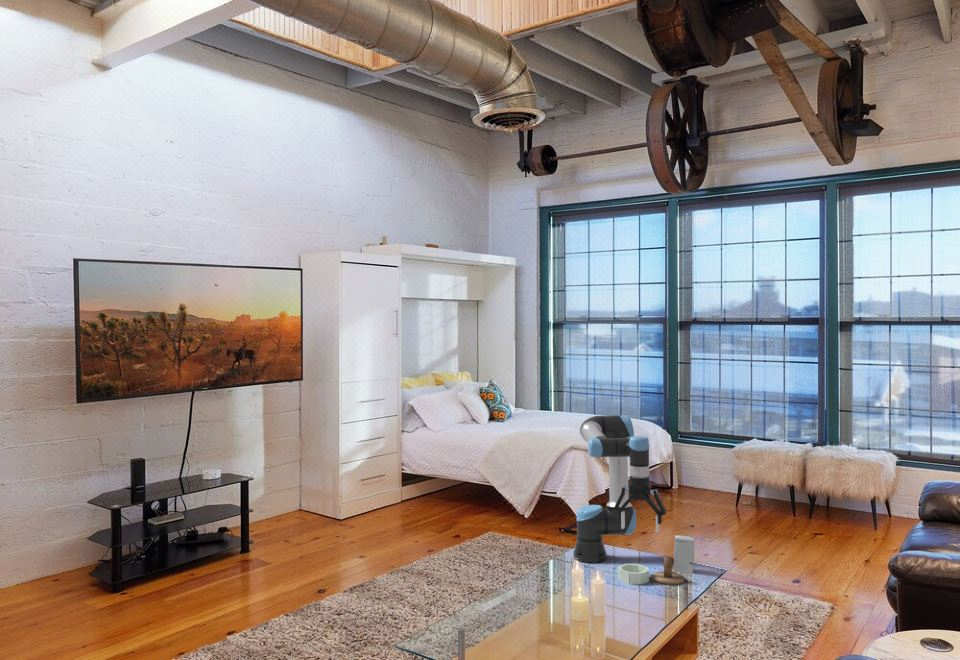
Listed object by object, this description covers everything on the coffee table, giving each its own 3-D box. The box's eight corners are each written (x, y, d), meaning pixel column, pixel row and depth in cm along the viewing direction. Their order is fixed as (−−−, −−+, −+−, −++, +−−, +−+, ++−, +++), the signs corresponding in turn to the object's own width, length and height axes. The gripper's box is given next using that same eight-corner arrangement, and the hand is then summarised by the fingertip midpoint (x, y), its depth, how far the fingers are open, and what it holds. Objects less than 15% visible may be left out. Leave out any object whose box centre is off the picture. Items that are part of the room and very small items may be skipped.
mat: (649, 575, 304) (649, 574, 304) (680, 575, 303) (680, 574, 303) (654, 586, 291) (654, 584, 291) (687, 586, 290) (687, 585, 290)
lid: (649, 574, 304) (649, 552, 304) (680, 574, 303) (680, 552, 303) (654, 584, 291) (654, 562, 291) (687, 585, 290) (686, 562, 290)
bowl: (617, 575, 305) (617, 563, 305) (646, 575, 304) (646, 563, 304) (620, 585, 293) (620, 573, 293) (650, 585, 292) (650, 573, 292)
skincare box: (673, 572, 307) (673, 538, 307) (674, 568, 312) (674, 534, 312) (694, 575, 304) (693, 539, 304) (694, 570, 310) (694, 536, 310)
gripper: (605, 475, 284) (606, 528, 284) (669, 480, 273) (670, 536, 273) (611, 471, 291) (611, 524, 291) (673, 476, 280) (674, 531, 280)
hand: (640, 530), depth 282 cm, fingers open, 13 cm apart
